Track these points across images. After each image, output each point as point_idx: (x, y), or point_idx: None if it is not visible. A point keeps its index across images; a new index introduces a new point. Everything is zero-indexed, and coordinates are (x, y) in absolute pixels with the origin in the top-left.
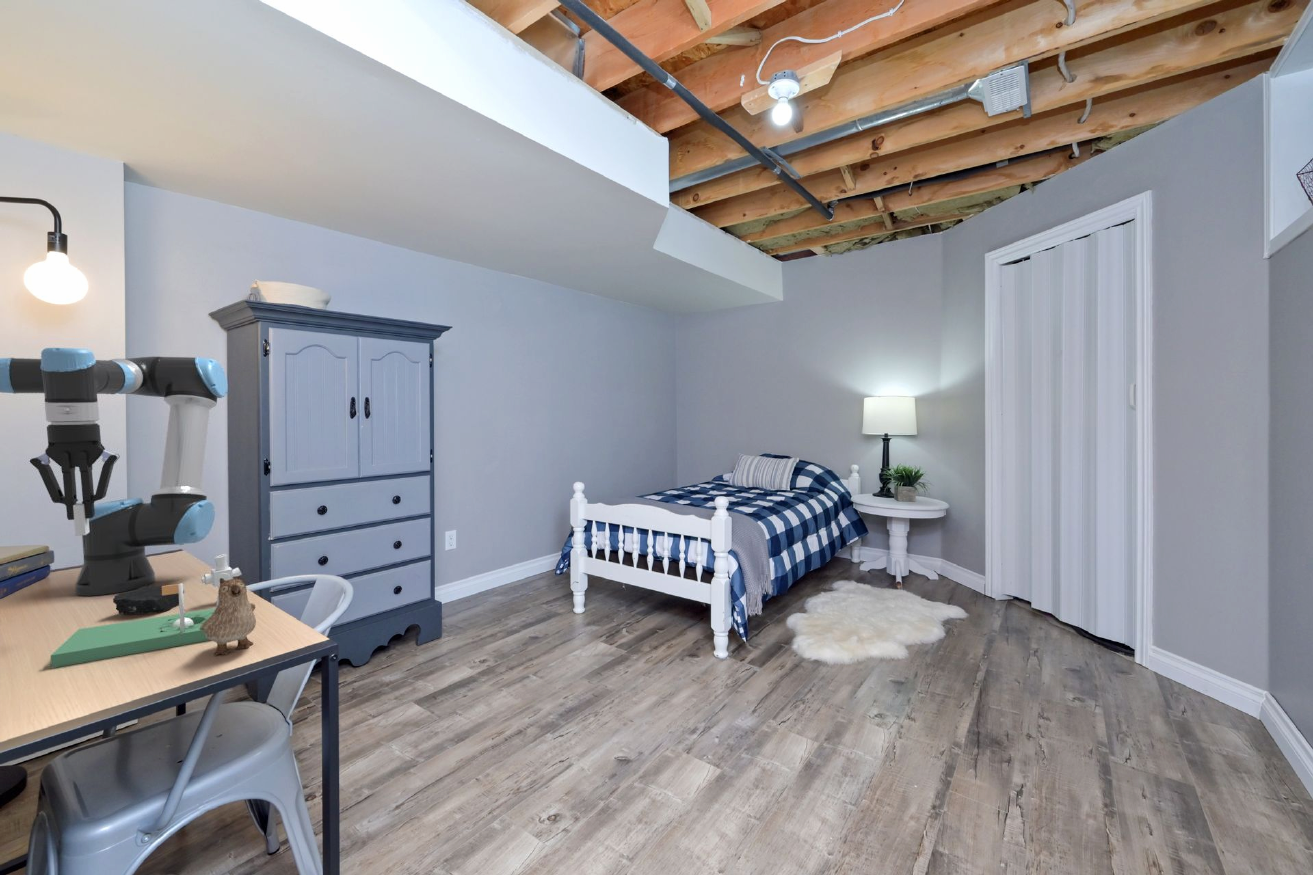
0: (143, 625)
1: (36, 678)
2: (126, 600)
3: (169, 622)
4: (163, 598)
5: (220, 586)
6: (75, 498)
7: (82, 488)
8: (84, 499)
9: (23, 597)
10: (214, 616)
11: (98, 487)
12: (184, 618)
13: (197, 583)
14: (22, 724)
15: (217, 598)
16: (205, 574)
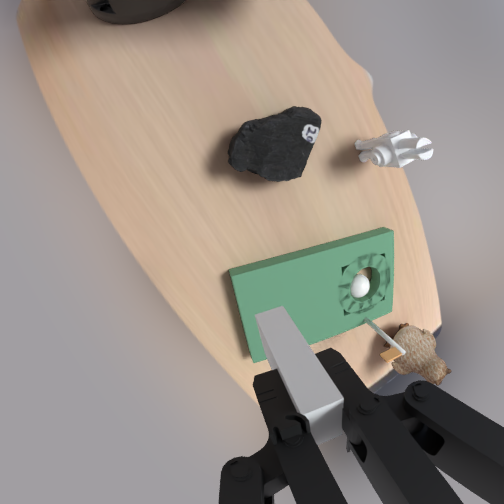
0: (318, 285)
1: (250, 372)
2: (254, 170)
3: (345, 280)
4: (306, 161)
5: (432, 381)
6: (312, 447)
7: (381, 495)
8: (358, 449)
9: (30, 24)
10: (409, 372)
11: (436, 460)
12: (366, 290)
13: (280, 8)
14: None
15: (362, 144)
16: (384, 156)
